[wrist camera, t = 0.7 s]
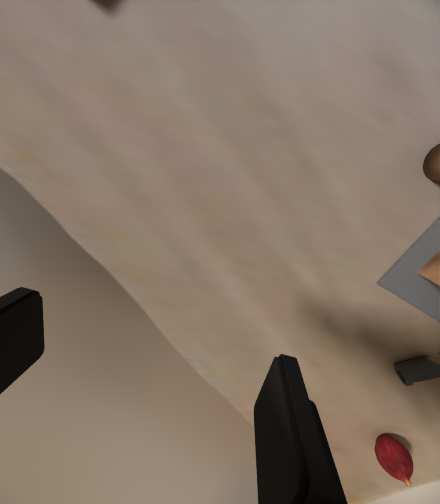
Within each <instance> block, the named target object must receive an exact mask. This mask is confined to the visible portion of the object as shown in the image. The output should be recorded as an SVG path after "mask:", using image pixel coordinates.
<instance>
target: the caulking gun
mask: <svg viewBox="0 0 440 504" xmlns="http://www.w3.org/2000/svg"><path fill="white" fill-rule="evenodd" d="M439 354H440V353H439ZM426 357H428V356H425V357H421V358H416V359H412V360H408V361H403V362H399V363H395V364H394V365H395V369H396V367H397V368H398V369H399V370H400V371H397V370H396V372H397V374H398V376H399V378H400V379H401V381H402V382H403V383H404V384H405V385H406V386H409V385H413V383H415V382H420V381H424V380H429V379H434V378H439V377H440V365H439V364H436V363H433V362H431V361H430V360H428V359H427V358H426Z"/></svg>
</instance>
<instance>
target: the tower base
mask: <svg viewBox="0 0 440 504" xmlns="http://www.w3.org/2000/svg"><path fill="white" fill-rule="evenodd" d="M417 273H418V274H420V275H421V276H423V277H425V278H426V279H428V280H429V281H431V282H432V283H434V284H436V285H437V286H439V287H440V251H439V252H438V253H437V254H436V255H435V256H434V257H433V258H432V259H431V260H430V261H428V262H427V263H426V264H425V265H424V266H423V267H422V268H421V269H420V270H419V271H418V272H417Z"/></svg>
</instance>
